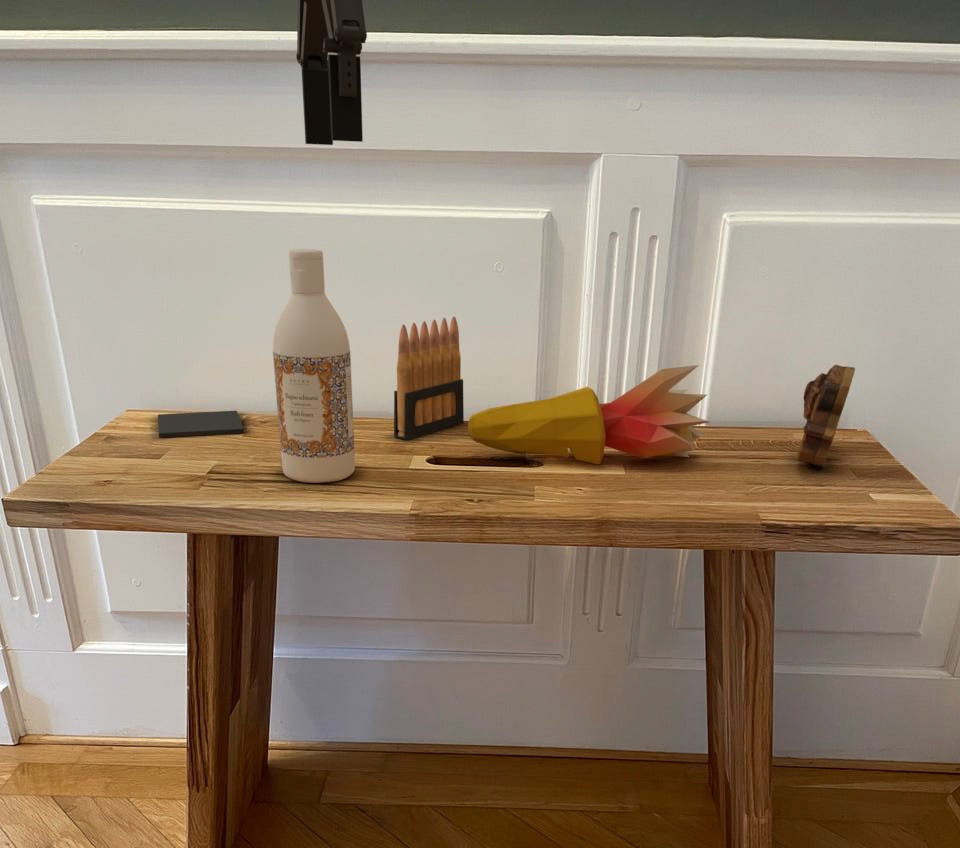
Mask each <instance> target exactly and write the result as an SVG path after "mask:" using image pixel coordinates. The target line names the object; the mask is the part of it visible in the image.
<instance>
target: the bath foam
mask: <svg viewBox="0 0 960 848" xmlns="http://www.w3.org/2000/svg"><path fill="white" fill-rule="evenodd" d="M323 253H324V252H323V250H322V249H314V248H312V249H311V248H296V249H295V248H294V249H293V248H292V249H290V250H288V264H289V278H290V288H291V289H290V290H291V294H290V297H289V299H288V300H287V302H286V304H285V306H284V307H283V310H282V311H281V313H280V315H279V316H278V317H279V318H278V320H277V322H276V325H275V328H274V333H273V339H272V358H273V371H274V382H275V395H276V408H277V409H276V410H277V420H278V433H279V445H280V446H279V447H280V457H281V467H282V472H283V474H284V475H285V477H287V478H288V479H290V480H293V481H296V482H300V483H309V484H323V483H324V484H325V483H334V482H337V481H342V480H344V479H347V478H348V477H350V476H351V475H352V474H353V473H354V472H355V468H356V461H355V460H356V459H355V431H354V407H353V383H352V382H353V381H352V361H351V360H352V359H351V347H350V341H349V337H348V333H347V329H346V327H345V325H344V323H343V321H342V319H341V317H340V316H339V314H338V312H337V310H336V309H335V308H334V306H333V304H332V303H331V301H330V300H329V298H328V297H327V295H326V293H325V291H326V290H325V289H326V287H325V269H324V266H325V265H324V254H323Z"/></svg>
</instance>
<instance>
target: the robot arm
mask: <svg viewBox="0 0 960 848" xmlns="http://www.w3.org/2000/svg"><path fill="white" fill-rule="evenodd" d="M363 6H364V5H363V0H297V25H296V27H297V32H296V33H297V35H296V37H297V39H296V53H295V59H296V61H297V64H299V66H300V68H301V84H302V85H301V86H302V103H303V106H302V107H303V123H304V141H305V142H304V143H305V145H321V146H322V145H323V146H324V145H325V146H333V145H334V142H335V141H336V142H358V143H359V142H360V143H361V142H364V141H363V139H364V137H363V105H362V104H363V103H362V69H361V67H362V66H361V64H362V63H361V53H362V50H363V44H366V41H367V39H368V32H367V30H366V21H365V14H364V13H365V12H364V7H363ZM331 53H333V54H331Z"/></svg>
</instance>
